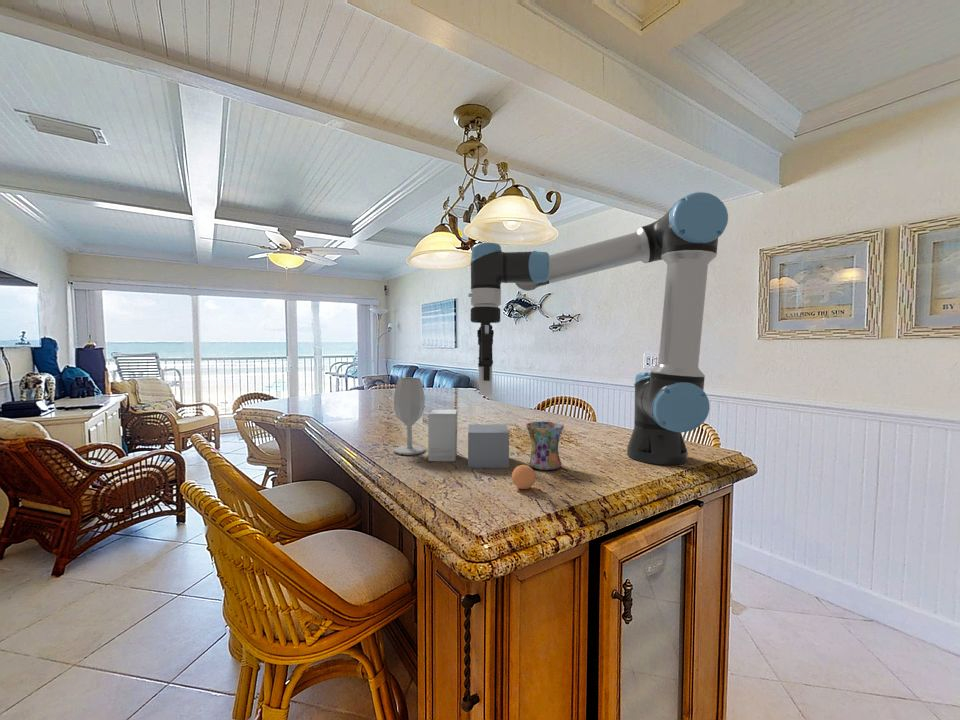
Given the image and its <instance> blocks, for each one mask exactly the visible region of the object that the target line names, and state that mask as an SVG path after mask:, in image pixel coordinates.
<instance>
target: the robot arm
mask: <svg viewBox="0 0 960 720" xmlns="http://www.w3.org/2000/svg"><path fill="white" fill-rule="evenodd" d="M728 223H729V212H728V209H727V207H726V205H725V203H724V202H723V201H722V200H720V198H718V196H716V195H714V194H712V193H709V192H703V191H700V192H699V191H697V192H693V193H689V194H687V195H685V196H683V197H682V198H680V199H678V200H677V201H676V202H674V204H672V206H671V208H670V209H669V210H668V211H667V212H666V213H665V214H664V215H663V216H662V217H660V218H659V219H657V220H656V221H654V222H652V223H649V224H647V225H644V226H639V227H638V228H637V229H636V231H635V232H631V233H628V234H625V235H621V236H617V237H613V238H610V239H605V240H603V241H602V240H601V241H598V242H595V243H591V244H587V245H584V246H583V245H582V246H580V247H579V246H578V247H575V248H571V249H569V250H565V251H561V252H556V253H553V254H549V253H548V252H547V251H537V250H533V251H510V252H509V251H508V252H507V251H506V252H505V251H503V250H502V246H501V245H500V244H499V243H496V242H479V243H476V244H474V245H473V246H472V248H471V256H470V257H471V258H470V293H468V295H467V297H469V298H470V305H471V306H472V307H471V308H470V322H471V323H475V324H480V326H479V328H478V329H477V331H476V333H477V345H478V348H479V349H478V357H477V358H478V364H477V367H478V389H480V393H479V394H480V395H481V396H482V395H488V396H489V395H490V396H492V395H493V363H494V360H493V345H494V336H495V335H494V333H495V332H494V329H493V325H492V324H498V323H501V309H500V308H501V307H500V306H501V305H502V290H501V288H502V287H501V285H502V284H515V285H516V286H517V287H518V288H519V289H521V290H523V291H527V292H530V291H533V290H536V289H537V288H539V287H542V286H546V285H551V284H554V283H558V282H562V281H565V280H570V279H574V278H577V277H581V276H586V275H589V274H593V273H599V272H600V271H605V270H608V269H613V268H618V267H621V266H625V265H628V264H633V263H636V262H642V263H643V264H648V263H652V262H657V261H662V260H663V261H664V262H665V263H666V265H667V267H666V275H665V276H666V277H665V288H664V297H663V299H664V300H663V309H662V319H661V330H660V344H659V352H658V353H659V354H658V364H657V365H656V366H655V367H653V368H652V369H651V371H650V372H647V371H646V372H639V373H637V374H636V376H635V380H634V385H633V386H634V420H633V421H634V425H633V430H632V433H631V434H630V438H629V441H628V444H627V445H626V446H627V447H626V449H627V450H626V455H627V457H628V458H631V459H632V460H634V461H639V462H642V463H647V464H654V465H666V466H668V465H669V466H670V465H673V466H674V465H675V466H676V465H682V464H685V463H687V462H688V457H689V455H688V449H687V447H686V443H685V440H684V436H683V434H682V433H687V432H692V431H694V430H696V429H697V428H700V427H701V425H703V424H704V423H705V421H706V420H707V418H708V416H709V413H710V409H711V408H710V407H711V406H710V399H709V398H708V396H707V393H706V392H705V391H704V388H705V380H706V379H705V377H706V376H705V373H703V372H702V371H701V370H700V368H699V362H700V353H701V351H700V350H701V343H702V342H701V341H702V334H703V333H702V330H703V321H704V310H705V298H706V290H707V282H708V281H707V280H708V267H709V264H710V262H712V261H714V259H715V258H717V256H718V252H717V251H718V244H719V237H721V236H722V234H723V233H724V231H725V229H726V228H727V225H728Z"/></svg>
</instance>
